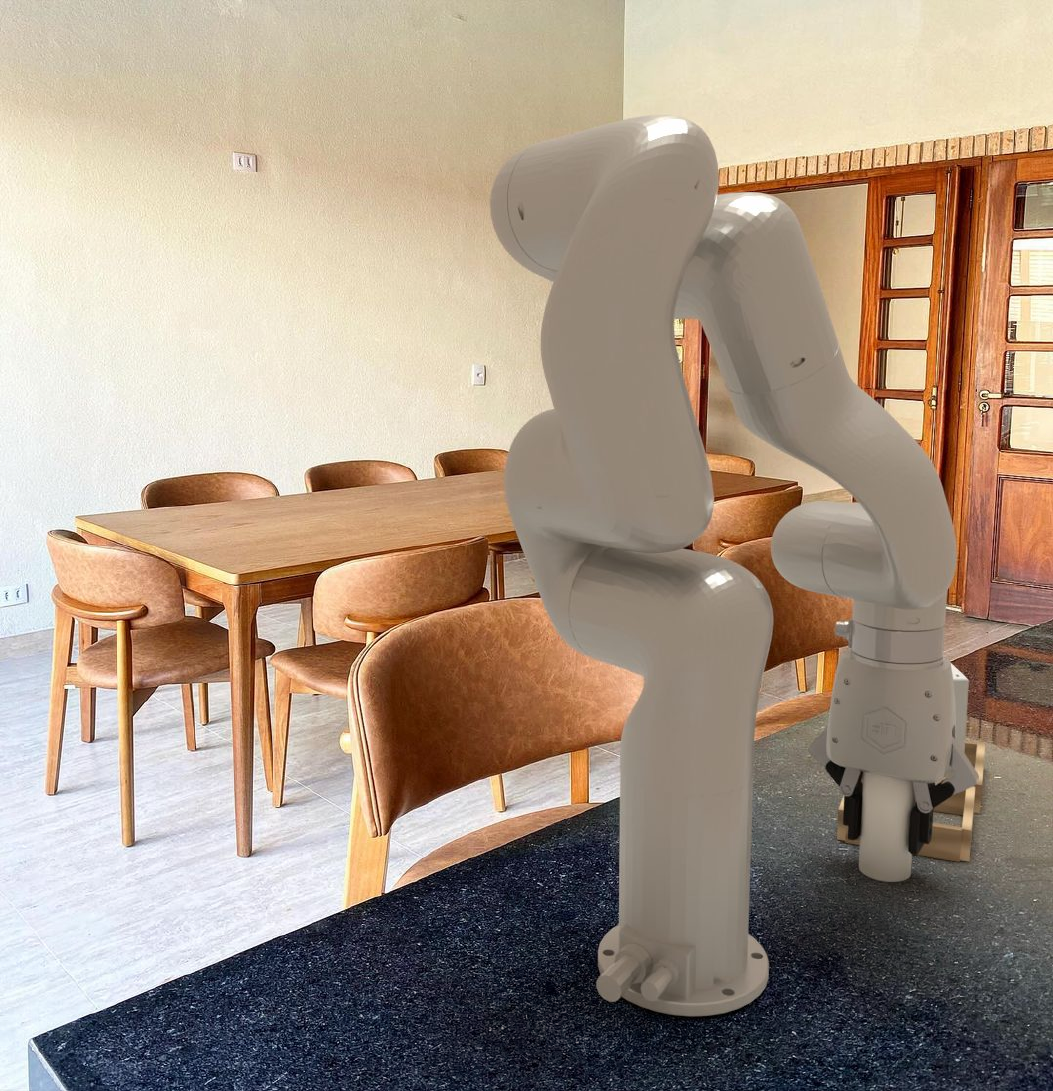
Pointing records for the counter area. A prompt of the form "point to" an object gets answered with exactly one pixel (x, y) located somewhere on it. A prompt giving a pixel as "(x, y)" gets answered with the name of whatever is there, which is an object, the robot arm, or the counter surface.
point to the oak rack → (946, 838)
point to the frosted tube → (886, 827)
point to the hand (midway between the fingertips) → (886, 839)
